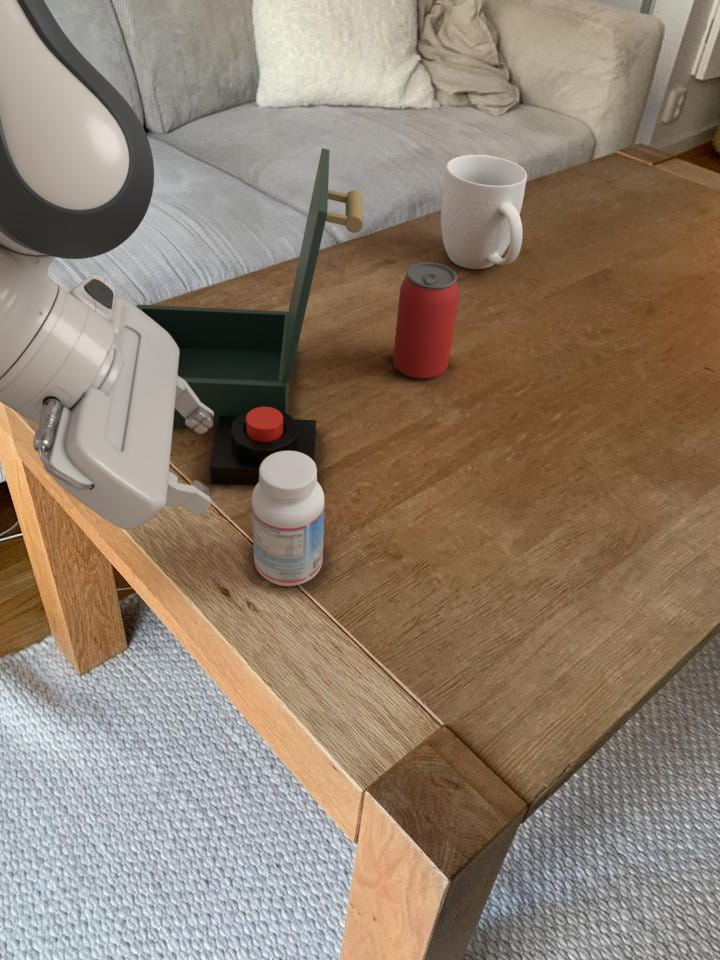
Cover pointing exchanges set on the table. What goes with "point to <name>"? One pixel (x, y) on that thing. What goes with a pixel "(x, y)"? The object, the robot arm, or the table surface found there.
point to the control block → (254, 448)
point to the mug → (482, 210)
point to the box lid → (316, 251)
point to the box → (228, 356)
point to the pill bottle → (288, 519)
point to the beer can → (425, 320)
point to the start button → (264, 424)
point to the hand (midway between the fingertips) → (207, 462)
